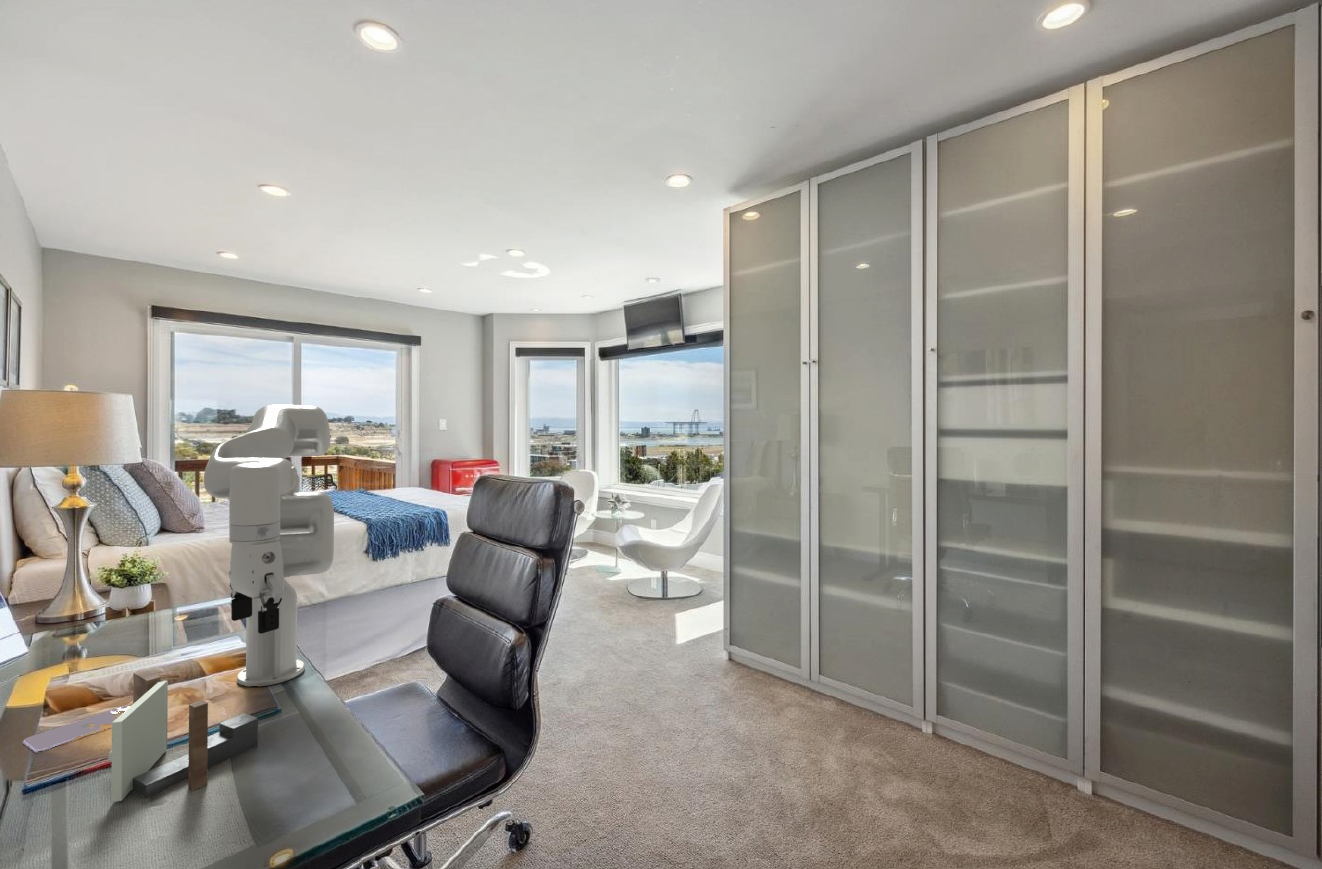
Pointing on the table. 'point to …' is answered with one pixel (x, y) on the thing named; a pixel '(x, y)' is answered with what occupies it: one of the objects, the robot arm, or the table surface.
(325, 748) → the table surface
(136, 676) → the wooden posts
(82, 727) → the mobile phone
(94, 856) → the table surface
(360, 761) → the table surface
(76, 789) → the table surface
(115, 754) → the door
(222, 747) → the dark gray beam
